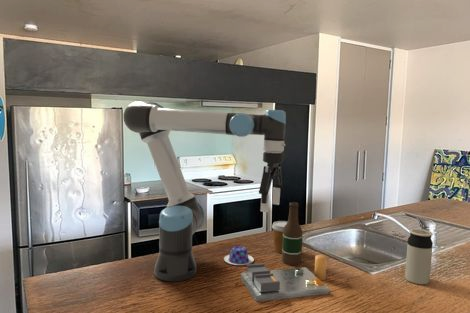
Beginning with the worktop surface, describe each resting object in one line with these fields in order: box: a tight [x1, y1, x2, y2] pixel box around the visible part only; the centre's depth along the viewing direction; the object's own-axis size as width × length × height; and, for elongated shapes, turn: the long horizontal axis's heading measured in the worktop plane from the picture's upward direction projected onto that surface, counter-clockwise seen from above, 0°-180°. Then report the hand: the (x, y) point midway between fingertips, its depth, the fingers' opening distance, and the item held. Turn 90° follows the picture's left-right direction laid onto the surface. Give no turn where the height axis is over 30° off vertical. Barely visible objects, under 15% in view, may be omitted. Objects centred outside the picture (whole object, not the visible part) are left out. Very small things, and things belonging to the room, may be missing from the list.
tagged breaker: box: [254, 273, 280, 292], centre depth 120 cm, size 6×6×3 cm
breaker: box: [246, 263, 270, 281], centre depth 128 cm, size 6×6×3 cm
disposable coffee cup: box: [271, 220, 288, 254], centre depth 158 cm, size 10×10×12 cm
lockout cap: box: [313, 254, 328, 282], centre depth 133 cm, size 4×4×8 cm
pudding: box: [223, 245, 255, 266], centre depth 148 cm, size 12×12×5 cm
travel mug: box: [404, 228, 434, 285], centre depth 132 cm, size 8×8×18 cm
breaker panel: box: [240, 266, 330, 303], centre depth 126 cm, size 25×17×3 cm
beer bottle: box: [281, 201, 303, 266], centre depth 146 cm, size 8×8×24 cm
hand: (270, 207), depth 139 cm, fingers open, 13 cm apart
